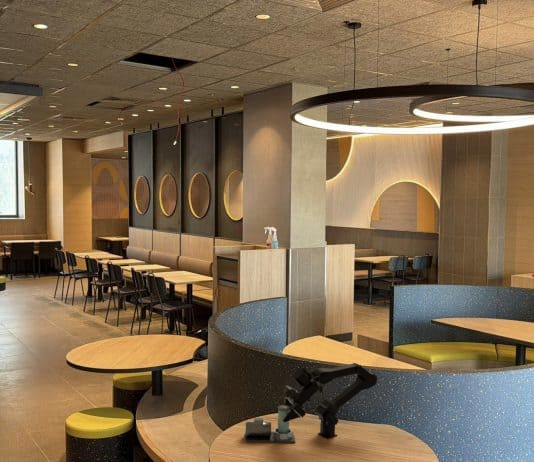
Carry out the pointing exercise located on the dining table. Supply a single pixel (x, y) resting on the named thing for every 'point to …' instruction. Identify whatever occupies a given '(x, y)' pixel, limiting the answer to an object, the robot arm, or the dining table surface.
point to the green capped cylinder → (282, 412)
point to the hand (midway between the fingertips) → (281, 417)
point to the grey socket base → (266, 433)
